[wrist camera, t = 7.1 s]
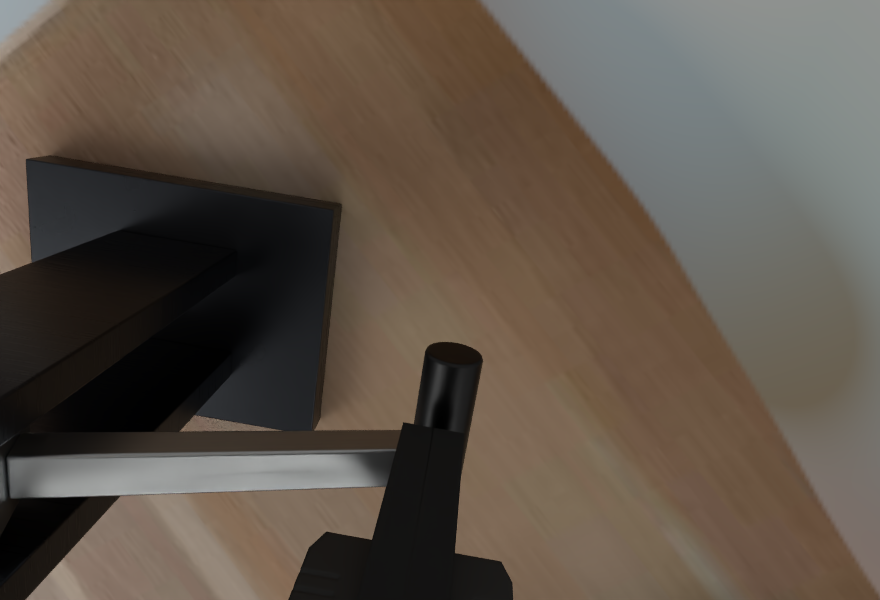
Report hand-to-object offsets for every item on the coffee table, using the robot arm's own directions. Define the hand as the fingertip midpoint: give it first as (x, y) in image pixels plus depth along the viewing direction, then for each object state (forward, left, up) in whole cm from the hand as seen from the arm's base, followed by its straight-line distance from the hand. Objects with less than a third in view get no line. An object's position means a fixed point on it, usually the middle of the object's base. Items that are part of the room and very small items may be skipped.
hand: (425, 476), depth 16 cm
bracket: (+10, 0, -9) cm, 14 cm away
